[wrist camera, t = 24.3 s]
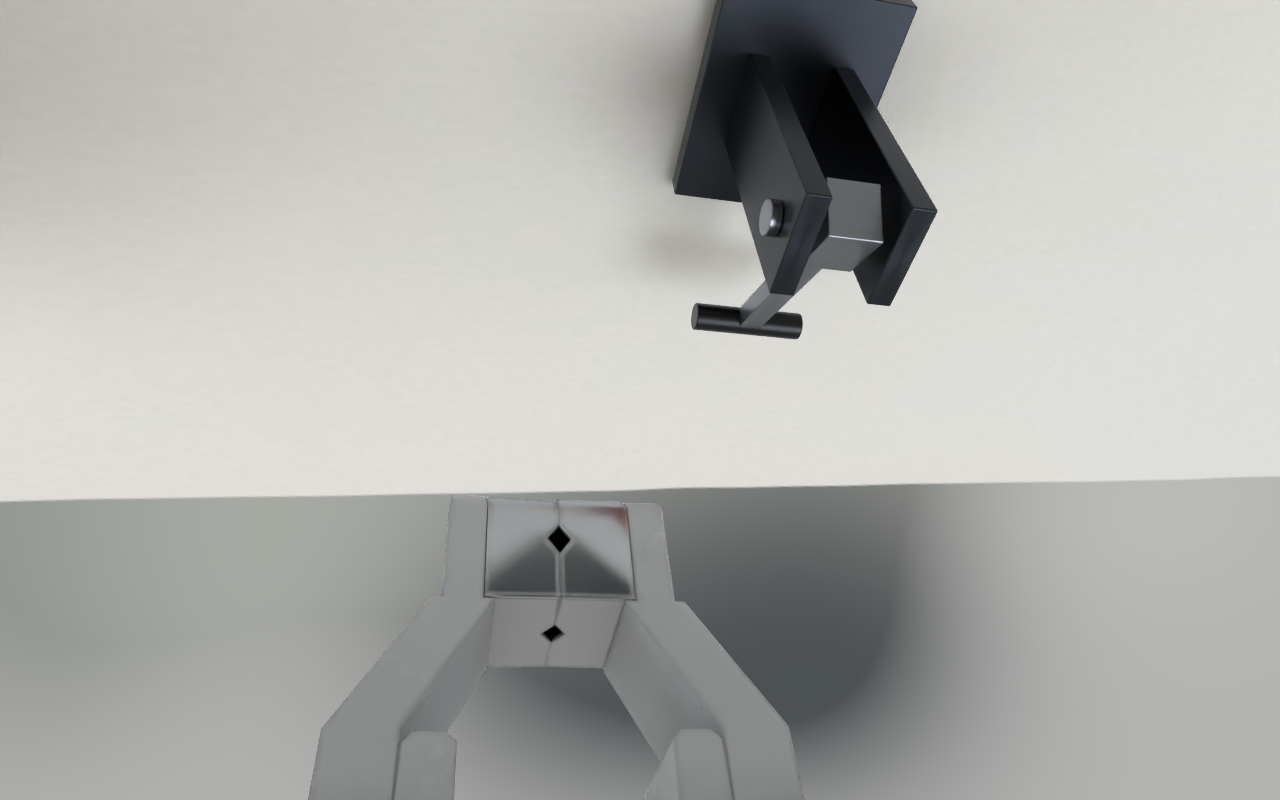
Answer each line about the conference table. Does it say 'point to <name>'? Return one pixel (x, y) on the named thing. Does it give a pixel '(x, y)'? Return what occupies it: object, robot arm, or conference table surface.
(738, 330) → the lever
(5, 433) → the conference table surface
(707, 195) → the lever bracket
